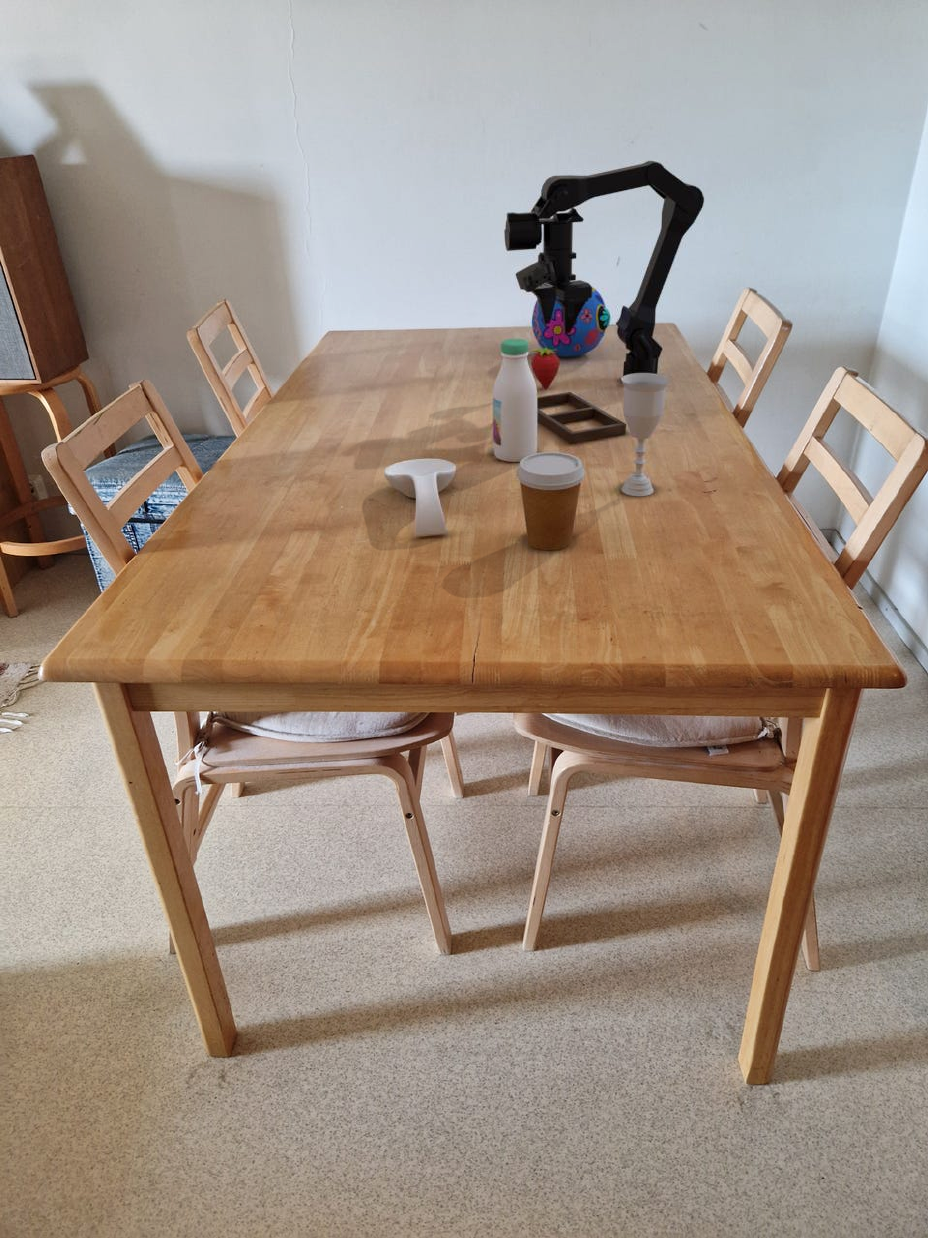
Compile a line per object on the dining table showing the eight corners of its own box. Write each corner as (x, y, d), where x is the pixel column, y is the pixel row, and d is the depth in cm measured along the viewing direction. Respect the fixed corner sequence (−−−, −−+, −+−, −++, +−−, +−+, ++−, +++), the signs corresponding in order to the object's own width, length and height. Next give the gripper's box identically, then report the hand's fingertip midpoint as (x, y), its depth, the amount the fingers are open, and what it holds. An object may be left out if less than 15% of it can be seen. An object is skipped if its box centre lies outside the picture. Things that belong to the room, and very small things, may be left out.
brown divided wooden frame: (569, 401, 184) (570, 391, 183) (625, 434, 166) (626, 423, 165) (519, 409, 180) (519, 400, 179) (571, 444, 163) (571, 433, 162)
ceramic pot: (610, 363, 206) (614, 295, 198) (533, 366, 206) (533, 298, 198) (601, 343, 221) (604, 279, 213) (529, 345, 221) (530, 282, 213)
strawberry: (533, 394, 188) (533, 346, 183) (529, 384, 195) (529, 337, 189) (561, 393, 188) (562, 345, 183) (556, 382, 195) (557, 336, 190)
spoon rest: (383, 480, 152) (380, 439, 148) (452, 474, 153) (450, 433, 149) (393, 541, 132) (389, 496, 128) (472, 534, 133) (471, 489, 129)
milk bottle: (543, 450, 161) (544, 337, 150) (527, 465, 155) (527, 348, 145) (503, 445, 164) (502, 333, 153) (486, 459, 158) (484, 345, 147)
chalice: (663, 484, 146) (673, 374, 137) (657, 500, 141) (666, 387, 131) (618, 479, 148) (625, 371, 139) (610, 495, 143) (617, 384, 133)
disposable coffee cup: (564, 561, 124) (566, 481, 118) (504, 546, 129) (503, 468, 123) (593, 534, 131) (596, 457, 125) (535, 521, 136) (536, 446, 129)
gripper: (501, 245, 181) (502, 323, 190) (542, 258, 167) (542, 343, 175) (550, 239, 185) (550, 317, 193) (594, 252, 170) (592, 335, 178)
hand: (557, 328), depth 185 cm, fingers open, 9 cm apart
